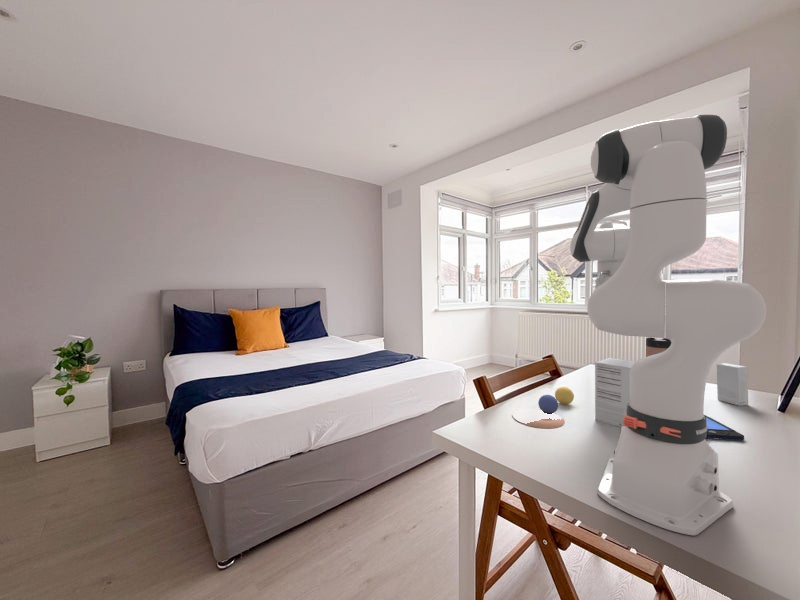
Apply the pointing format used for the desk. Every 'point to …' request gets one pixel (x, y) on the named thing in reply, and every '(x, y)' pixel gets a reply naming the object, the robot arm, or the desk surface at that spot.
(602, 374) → the supplement box
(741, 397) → the skincare box
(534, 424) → the mark
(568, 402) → the ball
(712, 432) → the handheld game console
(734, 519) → the desk surface
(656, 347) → the travel mug
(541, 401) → the ball
